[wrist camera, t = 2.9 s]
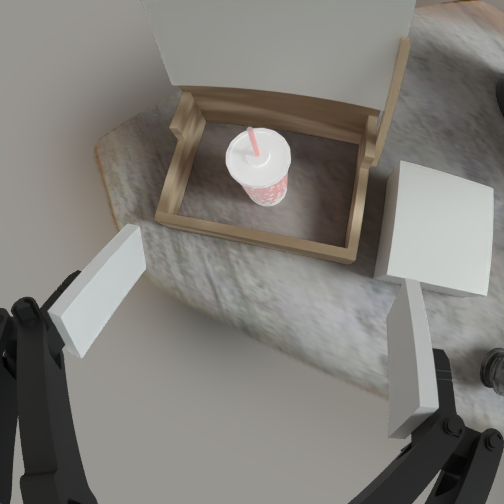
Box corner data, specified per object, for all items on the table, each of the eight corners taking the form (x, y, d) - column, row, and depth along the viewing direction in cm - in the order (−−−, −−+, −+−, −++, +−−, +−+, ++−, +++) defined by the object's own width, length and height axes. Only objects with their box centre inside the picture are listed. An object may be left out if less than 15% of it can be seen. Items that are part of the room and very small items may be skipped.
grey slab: (387, 180, 36) (400, 160, 30) (470, 203, 34) (493, 188, 28) (373, 279, 35) (386, 274, 29) (461, 297, 33) (486, 295, 27)
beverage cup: (246, 161, 39) (220, 96, 25) (296, 167, 38) (293, 101, 24) (237, 209, 38) (204, 160, 24) (289, 216, 37) (282, 168, 23)
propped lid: (195, 82, 37) (131, -40, 17) (381, 106, 33) (424, -32, 13) (175, 136, 36) (84, 18, 16) (376, 168, 32) (441, 32, 12)
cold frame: (201, 115, 41) (180, 75, 32) (367, 139, 37) (381, 99, 28) (167, 227, 39) (133, 207, 30) (349, 265, 35) (365, 253, 27)
